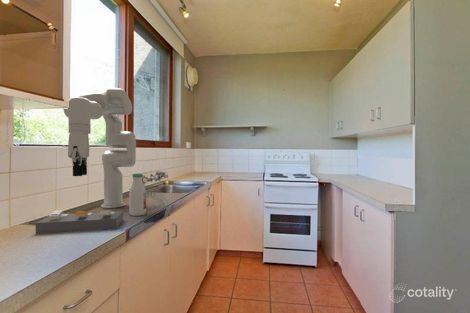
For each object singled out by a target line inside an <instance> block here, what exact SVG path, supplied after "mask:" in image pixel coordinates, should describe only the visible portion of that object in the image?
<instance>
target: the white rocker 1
mask: <svg viewBox="0 0 470 313" xmlns="http://www.w3.org/2000/svg"><path fill="white" fill-rule="evenodd" d="M62 214H64V210H62V209H59V210H57V209H56V210H53V211H52V212H51V213H50V214H49V215H48V216H49V219H59V218H60V217H61V215H62Z"/></svg>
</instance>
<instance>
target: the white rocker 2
mask: <svg viewBox="0 0 470 313" xmlns="http://www.w3.org/2000/svg"><path fill="white" fill-rule="evenodd" d="M99 212H100V214H111V212H112V210H111V209H103V210H100V211H99Z"/></svg>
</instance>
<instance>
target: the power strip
mask: <svg viewBox="0 0 470 313" xmlns="http://www.w3.org/2000/svg"><path fill="white" fill-rule="evenodd" d="M75 213H76V212H75ZM75 213H63V214H62V215H61V217H60V218H59V219H49V215H48V216H47V217H44V218H43V219H41V220H39V221H37V222H35V234H36V233H39V234H52V233H68V232H69V233H70V232H84V231H102V230H117V229H118V227H119V226H120V225H121V224H122V222H123V221H124V211H120V210H118V211H111V214H100V211H97V212H93V211H92V212H88V215H76V216H75Z"/></svg>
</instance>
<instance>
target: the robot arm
mask: <svg viewBox="0 0 470 313" xmlns="http://www.w3.org/2000/svg"><path fill="white" fill-rule="evenodd" d="M68 100H69V108H68V109H64V108H63V113H64V115H65V117H66V118H68V133H69V135H68V143H67V144H68V145H67V157H68V158H69V159H71V162H72V177H83V176H88V165H87V164H88V158H89V156H90V138H89V135H91V132H92V130H91V129H92V128H91V120H99V119H101V118H102V117H103V119H104V123H105V138H104V139H105V146H107V147H108V148H111V149H112V150H110V149H109V150H106V151H103V153H102V155H101V161H102V166H103V203H102V204H100V207H101V208H102V209H117V208H122V207H124V206H126V202H124V201H123V199H124V198H123V172H122V171H121V170H120V169H119V168H132V167H134V166H135V164H136V162H137V161H136V160H137V158H136V155H137V153H136V152H137V150H136V149H137V138H136V135H135V133H134V132H132V131H129V130H128V131H127V130H126V131H125V130H124V131H123V123H122V121H121V119H120V118H119V117H118V116H119V115H120V116H121V115H124V116H128V115H131V114H132V112H133V104H132V100H130V98H129V96H128V93H127V92H126V90H124V89H122V88H118V87H100V88H99V89H97V90H96V91H94V92H92V93H89V94H83V95H78V96H74V97H70V98H69V99H68ZM117 115H118V116H117ZM114 149H115V150H114ZM120 149H121V150H120ZM122 149H125V150H122Z"/></svg>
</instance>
